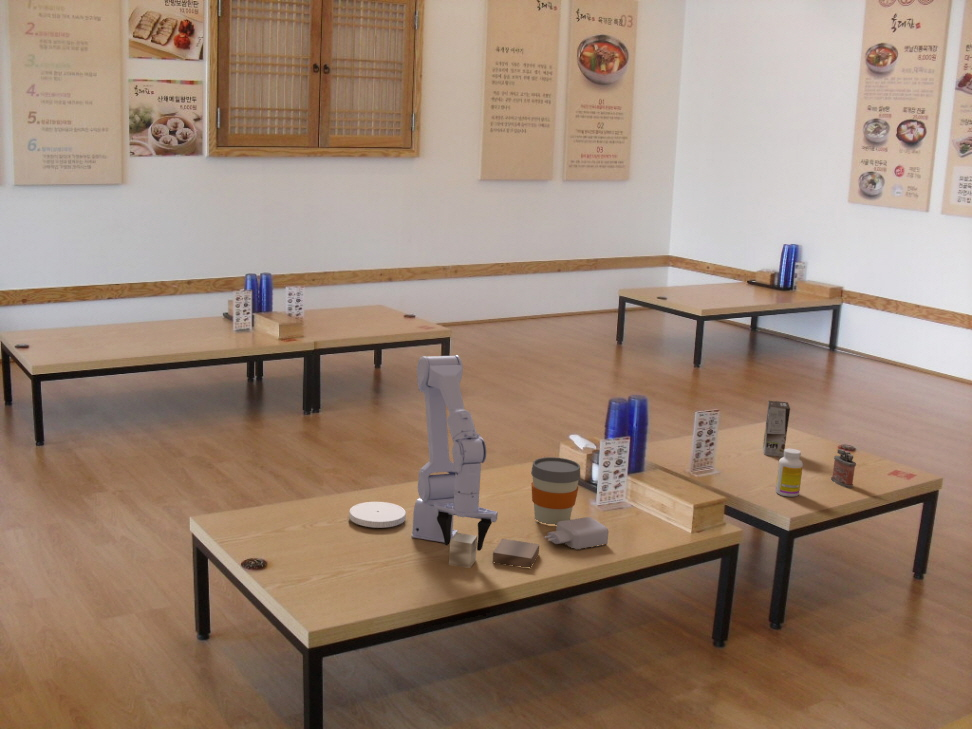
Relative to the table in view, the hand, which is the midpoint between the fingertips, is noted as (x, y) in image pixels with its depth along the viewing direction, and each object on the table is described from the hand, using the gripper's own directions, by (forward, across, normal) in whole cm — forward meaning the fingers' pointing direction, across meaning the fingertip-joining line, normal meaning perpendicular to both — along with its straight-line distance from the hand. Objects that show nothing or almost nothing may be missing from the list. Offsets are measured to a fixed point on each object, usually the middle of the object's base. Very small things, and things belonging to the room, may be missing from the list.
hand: (463, 546), depth 248 cm
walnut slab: (+4, +11, +7) cm, 14 cm away
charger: (+4, +21, +22) cm, 31 cm away
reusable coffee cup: (+4, +14, +35) cm, 38 cm away
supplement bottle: (+4, +73, +84) cm, 111 cm away
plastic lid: (+4, -27, +17) cm, 32 cm away
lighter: (+4, +89, +101) cm, 135 cm away
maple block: (+4, 0, 0) cm, 4 cm away
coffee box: (+4, +69, +125) cm, 143 cm away
